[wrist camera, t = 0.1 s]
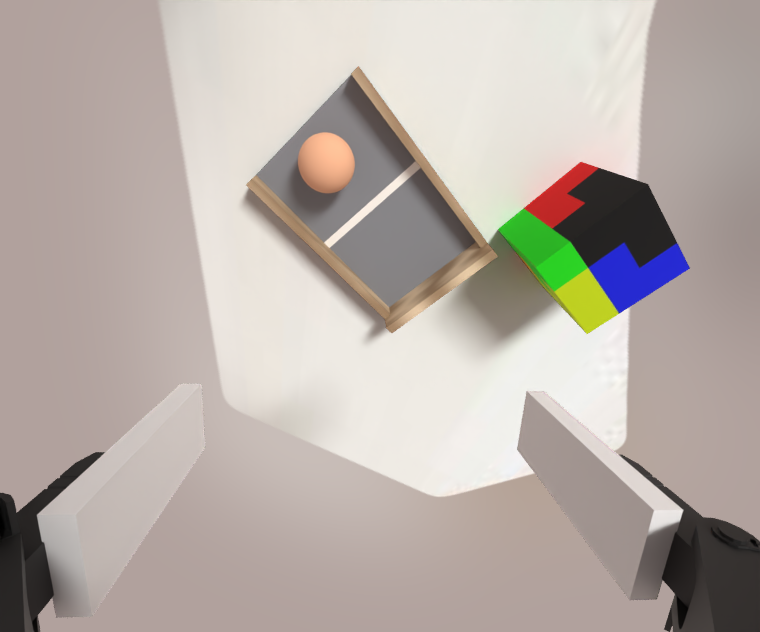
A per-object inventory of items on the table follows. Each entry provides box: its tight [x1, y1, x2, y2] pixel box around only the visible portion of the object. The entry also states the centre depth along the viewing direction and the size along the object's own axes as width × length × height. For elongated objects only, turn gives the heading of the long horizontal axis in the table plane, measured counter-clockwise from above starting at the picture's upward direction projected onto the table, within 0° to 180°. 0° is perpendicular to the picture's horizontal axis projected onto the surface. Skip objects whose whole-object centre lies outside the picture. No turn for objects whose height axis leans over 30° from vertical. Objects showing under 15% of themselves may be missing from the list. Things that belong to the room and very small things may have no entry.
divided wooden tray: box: [247, 66, 498, 333], centre depth 36 cm, size 14×21×4 cm, turn 40°
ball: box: [298, 132, 355, 193], centre depth 32 cm, size 5×5×5 cm
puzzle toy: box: [498, 162, 690, 334], centre depth 36 cm, size 10×10×10 cm
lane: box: [257, 75, 476, 307], centre depth 38 cm, size 14×21×1 cm, turn 40°
